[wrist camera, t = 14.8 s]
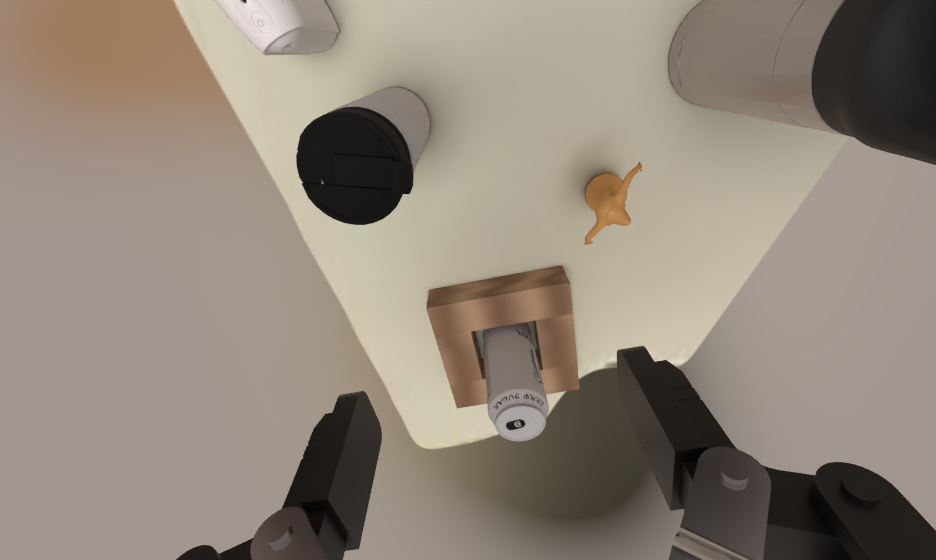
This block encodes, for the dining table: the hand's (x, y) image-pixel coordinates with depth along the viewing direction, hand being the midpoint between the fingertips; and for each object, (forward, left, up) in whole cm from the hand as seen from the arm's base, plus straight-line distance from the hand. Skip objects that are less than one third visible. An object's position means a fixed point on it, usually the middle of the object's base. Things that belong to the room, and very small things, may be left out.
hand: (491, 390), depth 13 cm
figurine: (-12, +5, -32) cm, 35 cm away
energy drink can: (0, +22, -32) cm, 39 cm away
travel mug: (+6, -5, -32) cm, 33 cm away
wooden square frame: (0, +22, -32) cm, 39 cm away
